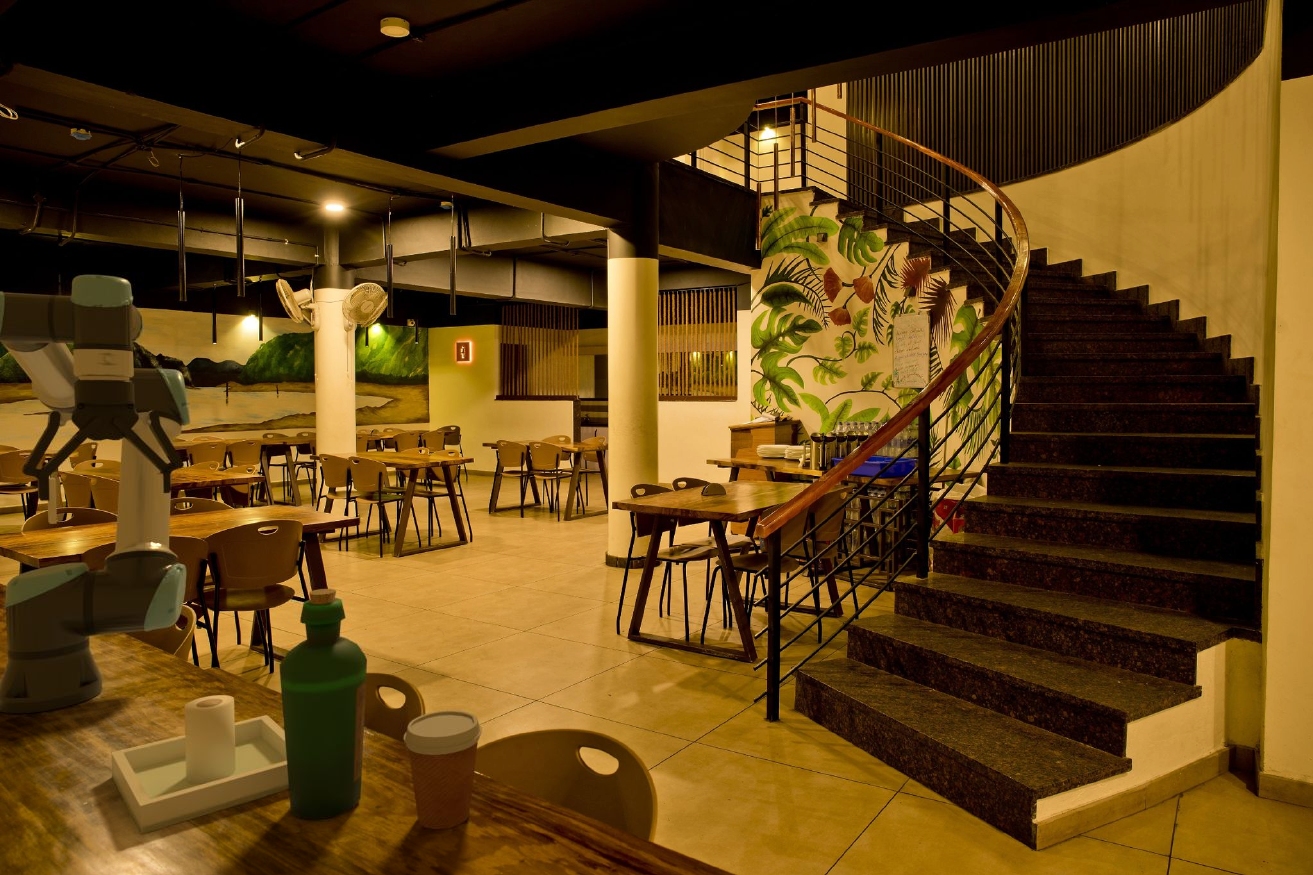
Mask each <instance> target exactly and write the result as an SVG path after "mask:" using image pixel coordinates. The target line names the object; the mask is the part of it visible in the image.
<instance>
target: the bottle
mask: <svg viewBox="0 0 1313 875" xmlns="http://www.w3.org/2000/svg"><path fill="white" fill-rule="evenodd" d="M336 593H337V590H336V589H333V588H320V589H319V588H318V589H315V590H311V591H309V592H308V594H309V598H310V599H309V600H306V601H304V602H303V603H302V604H303V605H302V609H301V614H300V619H299V621H300V623H301V624H303V625H305V626H304V628H305V636H306V639H305V640H302V641H301V642H300V643H298V644H297V645H296V646H294V647H292V649H290V650H288V651H287V653H286V654H285V656H284V657H283V659H282V660H281V662H280V664H279V677H280V688H281V693H280V694H281V703H282V704H281V705H282V717H283V727H284V728H283V730H284V731H285V744H286V757H287V770H288V782H289V789H288V793H289V794H288V795H289V805H290V806H289V808H290V813H291V814H293V815H295V816H297V817H299V818H302V819H311V820H312V819H313V820H315V819H316V820H321V819H326V818H331V817H335V816H338V815H340V814H342V813H344V812H347V811H348V810H350V809H352V808H353V807H354V806H355V805H356V804H357V803H358V802H359V801H360V800H361V798H362V797H361V795H362V776H363V775H362V774H363V753H364V752H363V751H364V735H365V734H364V732H365V731H364V730H365V712H366V692H367V691H366V689H367V687H366V686H367V667H368V659H367V656H366V654H365V653H364V651H363V650H362V648H361V647H360V646H359V645H358V643H357V642H354V641H352V640H350V639H349V638H347V637H344V636H343V637H342V636H341V624H342V621H343V620H345V619H346V614H345V609H344V605H343V600H342V598H340V597H339V598H338V597H336Z"/></svg>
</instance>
